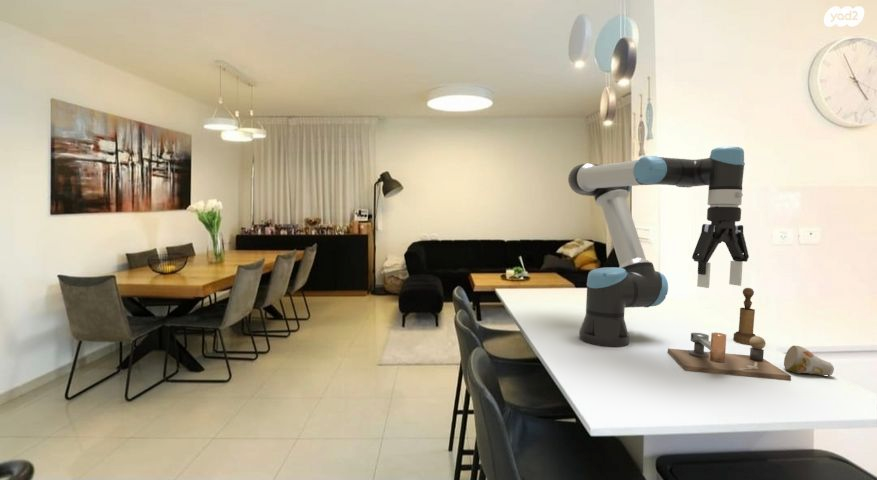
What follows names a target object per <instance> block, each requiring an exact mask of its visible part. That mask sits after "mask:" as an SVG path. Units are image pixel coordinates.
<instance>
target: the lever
mask: <svg viewBox="0 0 877 480" xmlns="http://www.w3.org/2000/svg"><path fill="white" fill-rule="evenodd" d="M710 338H711V339H710ZM709 339H710V340H709ZM690 342H693V343H700V344H702V345H704V348H707V349H708V351H709V352H710V361H712V362H716V363H725V353H726V350H727V349H726V347H727V334H725V333H721V332H711V337H710V336H709V334H706V333H702V332H690Z"/></svg>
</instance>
